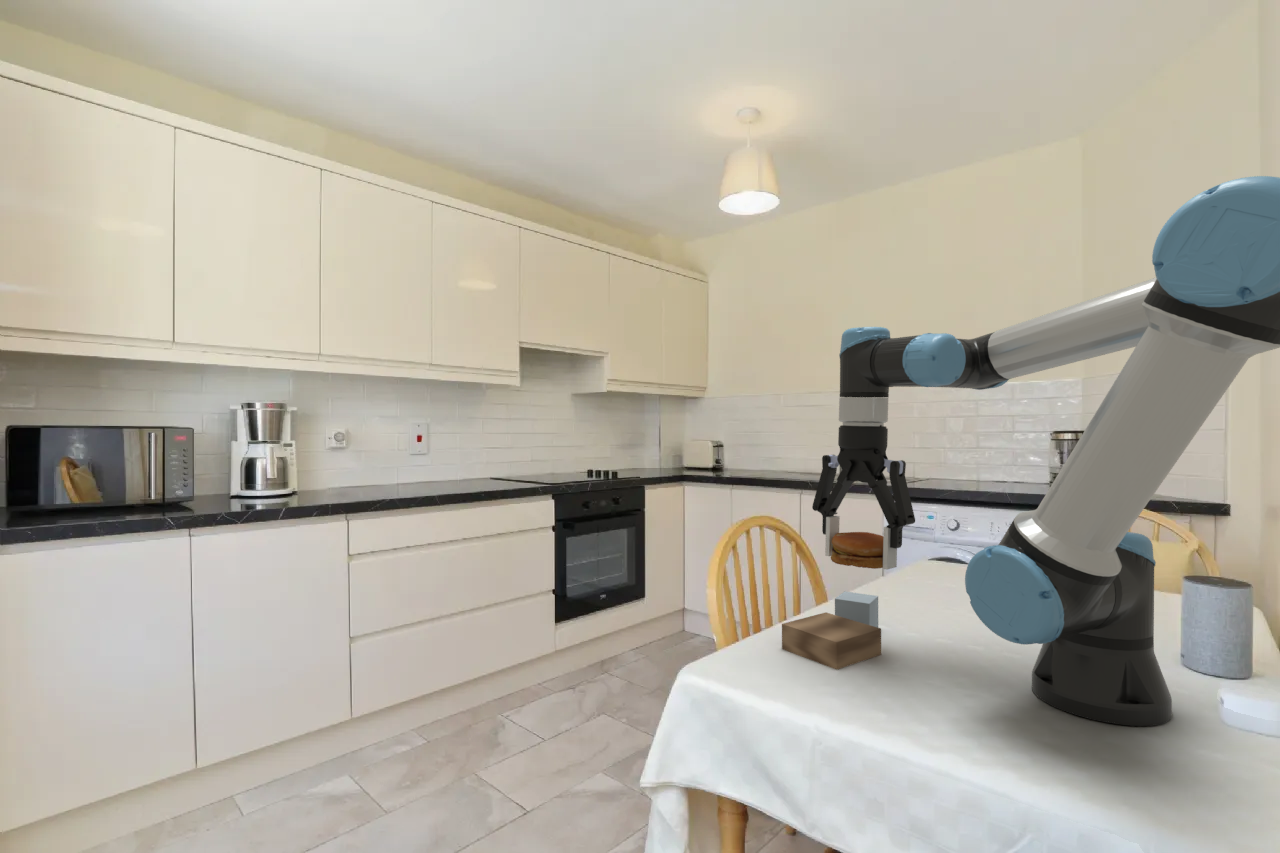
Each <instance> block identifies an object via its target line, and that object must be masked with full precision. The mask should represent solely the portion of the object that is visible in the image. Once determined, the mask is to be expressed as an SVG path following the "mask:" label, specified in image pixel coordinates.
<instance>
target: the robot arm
mask: <svg viewBox="0 0 1280 853" xmlns="http://www.w3.org/2000/svg"><path fill="white" fill-rule="evenodd" d="M1160 229H1161V230H1160V231H1159V233H1158V235H1157V237H1156V239H1155V243H1154V245H1153V250H1152V255H1151V257H1152V258H1151V259H1152V260H1151V261H1152V265H1153V267H1154V273H1155V275H1154V276H1155V277H1154V278H1151V279H1150V278H1149V279H1147V280H1143V281H1141V282H1138V283H1136V284H1133V285H1130V286H1127V287H1123V288H1120V289H1117V290H1114V291H1112V292H1108V293H1105V294H1103V295H1100V296H1097V297H1094V298H1091V299H1087V300H1085V301H1081V302H1079V303H1075V304H1073V305H1069V306H1067V307H1064V308H1061V309H1058V310H1055V311H1052V312H1048V313H1046V314H1044V315H1039V316H1037V317H1034V318H1031V319H1028V320H1025V321H1022V322H1018V323H1016V324H1013V325H1010V326H1007V327H1003V328H1002V329H998V330H996V331H994V332H991V333H987V334H984V335H980V336H978V337H975V338H970V339H967V338H966V339H965V338H956V336H954V334H951V333H946V332H945V333H944V332H943V333H931V332H927V333H922V334H918V335H910V336H902V337H892V338H891V331H890V330H889V329H888V328H887V327H884V326H883V327H881V326H861V327H859V326H858V327H851V328H848V329H845V331H843V333H842V334H841V341H840V342H841V343H840V349H839V350H840V353H839V398H838V399H839V401H838V404H839V406H838V422H840V423H842V424H841V425H839V427H838V437H837V438H838V443H837V446H839V453H838V455H836V454H824V455H822V457H821V461H822V462H821V463H822V468H821V473H820V477H819V481H818V484H817V488H816V492H815V495H814V499H813V502H812V510H813V511H814V512H819V514H821V516H822V524H821V525H822V531H821V532H822V534H823V535H825V546H824V548H825V551H824V552H825V553H824V554H825V556H826V557H831V555H832V549H833V544H832V538H833V536H834V535H835V534H837V533H840V517H841V516H840V515H837V514H838V512H837V511H838V509H839V507H840V506H841V504H842V502H843V500H844V498H845V496H846V494H847V493H848V491H849V489H850V488H851V486H852V484H854V483H855V482H861V483H864V484H867V485H868V487H869V488H870V489H871V490H872V491H873V494H874V496H875V498H876V500H877V502H878V504H879V507H880V509H881V511H882V513H883V515H884V518H885V520H886V522H887V524H888V525H886V526H883V568H882V569H883V570H890V569H894V568H897V564H898V562H897V560H898V549H899V548H900V549H901V547H902V545H903V528H904V527H905V526H907V525H908V526H909V525H913V524H915V523H916V516H915V513H914V509H913V504H912V500H911V496H910V491H909V486H908V482H907V478H906V468H907V467H906V465H907V462H906V461H905V460H903V459H902V460H893V459H889V458H888V456H887V448H888V441H889V440H888V438H889V437H888V435H889V434H888V433H889V431H888V430H889V428H887V426H884V425H885V423H888V421H889V396H890V394H889V392H890V388H897V387H898V388H900V387H902V388H904V387H905V388H911V387H913V388H915V387H917V388H920V387H921V388H923V387H924V388H951V389H952V388H953V389H972V390H979V391H980V390H982V391H983V390H988V389H995V388H999V387H1001V386H1003V385H1004V384H1006V383H1008V382H1009V381H1010V380H1011V379H1016V378H1019V377H1022V376H1028V375H1031V374H1034V373H1038V372H1042V371H1043V372H1044V371H1047V370H1049V369H1054V368H1057V367H1062V366H1066V365H1069V364H1074V363H1077V362H1081V361H1085V360H1090V359H1093V358H1097V357H1101V356H1105V355H1108V354H1113V353H1116V352H1117V353H1118V352H1120V351H1124V350H1128V349H1132V348H1134V349H1133V350H1132V353H1131V354H1130V355H1129V357H1128V358H1127V361H1126V362H1125V364H1124V365H1123V367H1122V369H1121V371H1120V372H1119V374H1118V375H1117V377H1116V379H1115V380H1114V382H1113V383H1112V386H1111V387H1110V388H1109V391H1108V392H1107V393H1106V395H1105V397H1104V398H1103V400H1102V402H1101V403H1100V405H1099V407H1098V408H1097V410H1096V411H1095V413H1094V415H1093V417H1092V418H1091V420H1090V421H1089V423H1088V424H1087V426H1086V428H1085V429H1084V431H1083V433H1082V434H1081V436H1080V437H1079V439H1078V441H1077V442H1076V444H1075V446H1074V447H1073V449H1072V451H1071V452H1070V454H1069V456H1068V457H1067V459H1066V461H1065V462H1064V464H1063V466H1062V467H1061V469H1060V470H1059V472H1058V474H1057V476H1056V477H1055V478H1054V480H1053V482H1052V483H1051V485H1050V487H1049V488H1048V490H1047V492H1046V493H1045V494H1044V497H1043V498H1042V500H1041V502H1040V503H1039V504H1038V507H1037V508H1036V509H1033V510H1029V511H1028V510H1027V511H1021V512H1019V513H1018V514H1017V515H1016V516H1015V517H1014V518H1013V520H1012V521H1011V524H1010V525H1009V527H1008V529H1007V531H1006V532H1005V534H1004V535H1003V537H1002V539H1001V540H1000V541H999V543H998V544H996V545H995V544H994V545H990V546H989V545H988V546H986V547H984V548H983V549H981V550H980V551H978V552H976V553H974V555H973V556H972V557H971V559H970V560H969V562H968V564H967V566H966V569H965V576H964V585H965V592H966V594H967V595H968V596H969V600H970V601H969V603H970V605H971V607H972V610H973V611H974V613H975V615H976V616H977V617H978V619H979V620H980V622H982V623H983V625H984V626H986V627H987V629H989V630H990V631H991V632H992V633H993V634H995V635H996V636H998V637H999V638H1001V639H1003V640H1006V641H1008V642H1010V643H1013V644H1019V645H1033V644H1038V645H1041V648H1040V651H1039V653H1038V654H1037V657H1036V658H1037V659H1036V661H1035V662H1034V664H1033V668H1032V671H1031V690H1032V692H1033V694H1034V695H1035V696H1036V697H1038V698H1039V699H1040V700H1041V701H1043V702H1045V703H1046V704H1048V705H1050V706H1052V707H1054V708H1056V709H1059V710H1061V711H1062V712H1063V711H1064V712H1066V713H1069V714H1072V715H1076V716H1078V717H1081V718H1086V719H1089V720H1093V721H1098V722H1103V723H1108V724H1114V725H1122V726H1135V727H1136V726H1137V727H1148V726H1149V727H1150V726H1156V725H1157V726H1158V725H1162V724H1165V723H1168V722H1169V721H1170V720H1171V719H1172V716H1173V702H1172V701H1173V700H1172V696H1171V693H1170V690H1169V687H1168V685H1167V682H1166V680H1165V677H1164V675H1163V672H1162V669H1161V667H1160V664H1159V661H1158V659H1157V657H1156V653H1155V644H1154V643H1155V642H1154V641H1155V639H1154V637H1155V636H1154V634H1155V633H1154V631H1155V629H1154V626H1155V620H1154V619H1155V567H1156V563H1157V562H1156V560H1155V559H1154V558H1155V556H1154V548H1153V542H1152V541H1151V539H1150V538H1149V537H1148V536H1147V535H1144V534H1142V533H1138V532H1131V531H1130V529H1131V528H1132V526H1133V525H1134V523H1135V522H1136V521H1137V519H1138V518H1139V516H1140V514H1142V512H1143V511H1144V509H1145V508H1146V507H1147V505H1148V503H1149V502H1150V501H1151V500H1152V498H1153V497H1154V495H1155V493H1156V492H1157V491H1158V489H1159V487H1160V486H1161V485H1162V483H1163V482H1164V480H1165V479H1166V478H1167V476H1168V475H1169V474H1170V471H1172V469H1173V467H1174V466H1175V465H1176V464H1177V462H1178V460H1179V459H1180V457H1181V456H1182V455H1183V454H1184V452H1185V450H1186V449H1187V447H1188V446H1189V445H1190V443H1191V442H1192V440H1193V439H1194V437H1195V436H1196V435H1197V434H1198V432H1199V430H1200V429H1201V427H1202V426H1203V425H1204V423H1205V422H1206V421H1207V419H1208V417H1209V416H1210V414H1211V413H1212V412H1213V411H1214V409H1215V407H1216V406H1217V404H1218V403H1219V402H1220V400H1221V399H1222V397H1223V396H1224V395H1225V394H1226V392H1227V390H1228V389H1229V387H1230V386H1231V385H1232V383H1233V382H1234V380H1235V379H1236V377H1237V376H1238V375H1239V373H1240V371H1241V370H1242V369H1243V367H1244V366H1245V364H1246V363H1247V362H1248V361H1249V359H1250V358H1252V357H1254V356H1256V355H1258V354H1262V353H1265V352H1270V351H1273V350H1276V349H1280V177H1278V176H1268V175H1267V176H1266V175H1257V176H1256V175H1255V176H1245V177H1240V178H1234V179H1232V180H1227V181H1224V182H1222V183H1220V184H1216V185H1215V186H1212V187H1210V188H1209V189H1206V190H1203V191H1202V192H1200V193H1198V194H1197V195H1194V196H1193V197H1192V198H1190V199H1189V200H1188V201H1186V202H1185V203H1184V204H1182V205H1181V206H1179V208H1178V209H1177V210H1176V211H1175V212H1174V213H1173V214H1172V215H1171V216H1170V217H1169V218H1168V219H1167V220H1166V222H1165V224H1164V225H1163V226H1162V228H1160ZM838 467H840V468H841V471H840V472H839V474H838V476H837V475H836V474H837V470H838ZM885 470H886V472H887V473H888V474H889V482H890V485H891V490H892V492H891V491H890V488H889V487H888V481H887V478H886V477H885V474H884V471H885ZM836 476H837V478H836ZM835 478H836V480H837V482H836V483H835V485H834V482H835ZM833 486H834V487H833Z"/></svg>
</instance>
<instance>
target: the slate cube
mask: <svg viewBox="0 0 1280 853" xmlns="http://www.w3.org/2000/svg"><path fill="white" fill-rule="evenodd" d="M834 615H837V616H840V617H843V618H847V619H850V620H854V621H857V622H860V623H864V624H867V625H870V626H874V627H877V628H879V595H874V594H866V593H859V592H852V591H846V590H845V591H843V592H842V593H840V594H839V595H838V596H836V597H835V598H834Z"/></svg>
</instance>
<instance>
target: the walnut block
mask: <svg viewBox="0 0 1280 853" xmlns="http://www.w3.org/2000/svg"><path fill="white" fill-rule="evenodd" d="M781 650H783V651H786V652H789V653H791V654H794V655H797V656H800V657H801V658H804V659H808V660H810V661H813V662H815V663H818V664H821V665H824V666H826V667H829V668H831V669H834V670H836V671H837V670H841V669H843V668H846V667H848V666H851V665H854V664H857V663H860V662H864V661H866V660H870V659H872V658H876V657H879V656H882V628H881V627H878V628H877V627H874V626H870V625H867V624H864V623H860V622H857V621H854V620H850V619H847V618H843V617H840V616H837V615H835V614H833V613H829V612H822V613H819V614H815V615H811V616H807V617H803V618H799V619H795V620H791V621H788V622H784V623H781Z"/></svg>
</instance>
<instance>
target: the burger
mask: <svg viewBox="0 0 1280 853" xmlns="http://www.w3.org/2000/svg"><path fill="white" fill-rule="evenodd" d="M883 537H884V535H881V534H878V533H873V532H868V531H867V532H866V531H851V532H849V531H848V532H839V533H837V534H835V535H834V536H833V538H832V544H833V549H832V555H831V556H830V561H831V562H832V563H835V565H836V564H837V565H840V566H841V565H842V566H847V567H848V566H849V567H851V566H852V567H856V568H863V569H864V568H866V569H873V570H874V569H875V570H876V569H883Z"/></svg>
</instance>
